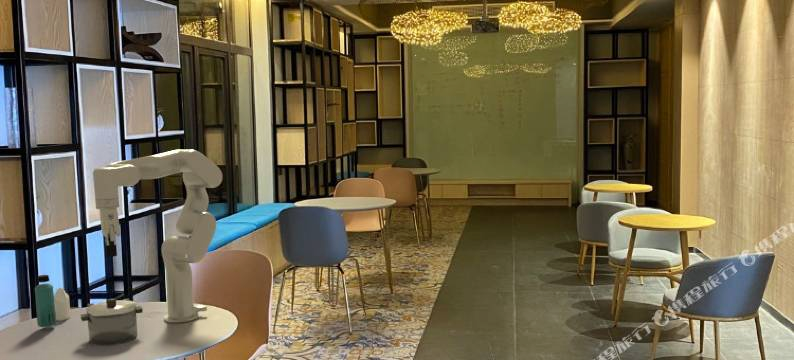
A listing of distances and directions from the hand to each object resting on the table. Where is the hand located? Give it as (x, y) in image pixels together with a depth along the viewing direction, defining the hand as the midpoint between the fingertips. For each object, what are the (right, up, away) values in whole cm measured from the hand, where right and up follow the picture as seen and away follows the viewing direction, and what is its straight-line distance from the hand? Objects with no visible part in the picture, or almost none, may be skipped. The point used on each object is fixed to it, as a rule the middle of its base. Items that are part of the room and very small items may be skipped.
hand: (111, 256), depth 267 cm
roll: (-31, -28, +33) cm, 54 cm away
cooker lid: (-2, -19, +5) cm, 20 cm away
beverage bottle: (-31, -29, +20) cm, 47 cm away
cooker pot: (-2, -29, +6) cm, 30 cm away
